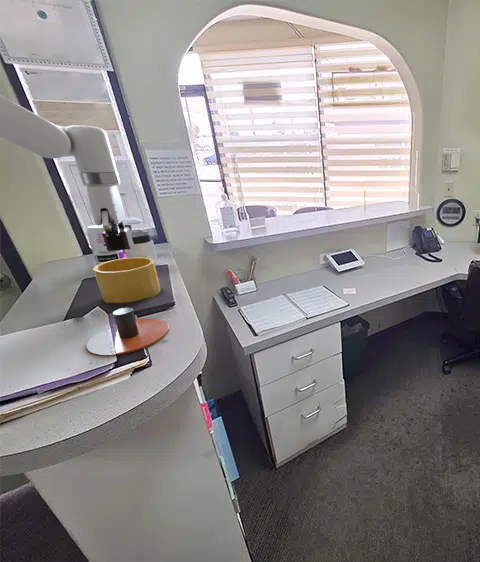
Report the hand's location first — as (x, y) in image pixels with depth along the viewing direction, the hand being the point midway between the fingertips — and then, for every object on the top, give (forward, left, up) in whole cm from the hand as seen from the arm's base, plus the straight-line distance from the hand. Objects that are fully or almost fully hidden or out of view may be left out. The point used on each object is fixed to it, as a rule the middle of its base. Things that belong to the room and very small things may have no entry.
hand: (120, 246), depth 87 cm
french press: (-6, +44, -15) cm, 47 cm away
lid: (+4, -28, -14) cm, 32 cm away
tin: (0, 0, -15) cm, 15 cm away
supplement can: (-11, +31, -15) cm, 36 cm away
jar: (-1, +28, -15) cm, 32 cm away
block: (0, 0, 0) cm, 0 cm away
